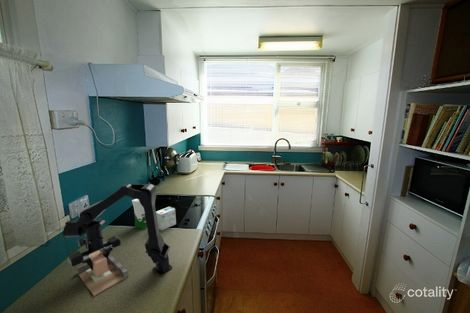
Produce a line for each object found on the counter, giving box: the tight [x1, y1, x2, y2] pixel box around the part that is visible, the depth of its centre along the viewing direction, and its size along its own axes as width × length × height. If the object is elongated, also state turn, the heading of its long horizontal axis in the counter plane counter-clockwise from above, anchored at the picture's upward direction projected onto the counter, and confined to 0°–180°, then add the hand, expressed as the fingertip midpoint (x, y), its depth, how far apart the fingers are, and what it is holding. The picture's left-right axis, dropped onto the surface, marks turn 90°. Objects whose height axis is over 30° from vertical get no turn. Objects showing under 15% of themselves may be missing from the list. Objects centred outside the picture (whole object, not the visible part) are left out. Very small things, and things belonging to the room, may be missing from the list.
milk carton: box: [131, 198, 147, 230], centre depth 133 cm, size 9×9×20 cm
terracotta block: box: [89, 250, 108, 277], centre depth 92 cm, size 4×9×6 cm, turn 52°
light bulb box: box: [156, 206, 177, 231], centre depth 133 cm, size 11×7×11 cm, turn 141°
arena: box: [76, 253, 129, 297], centre depth 92 cm, size 20×13×3 cm, turn 52°
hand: (98, 267), depth 93 cm, fingers closed on terracotta block, 4 cm apart
